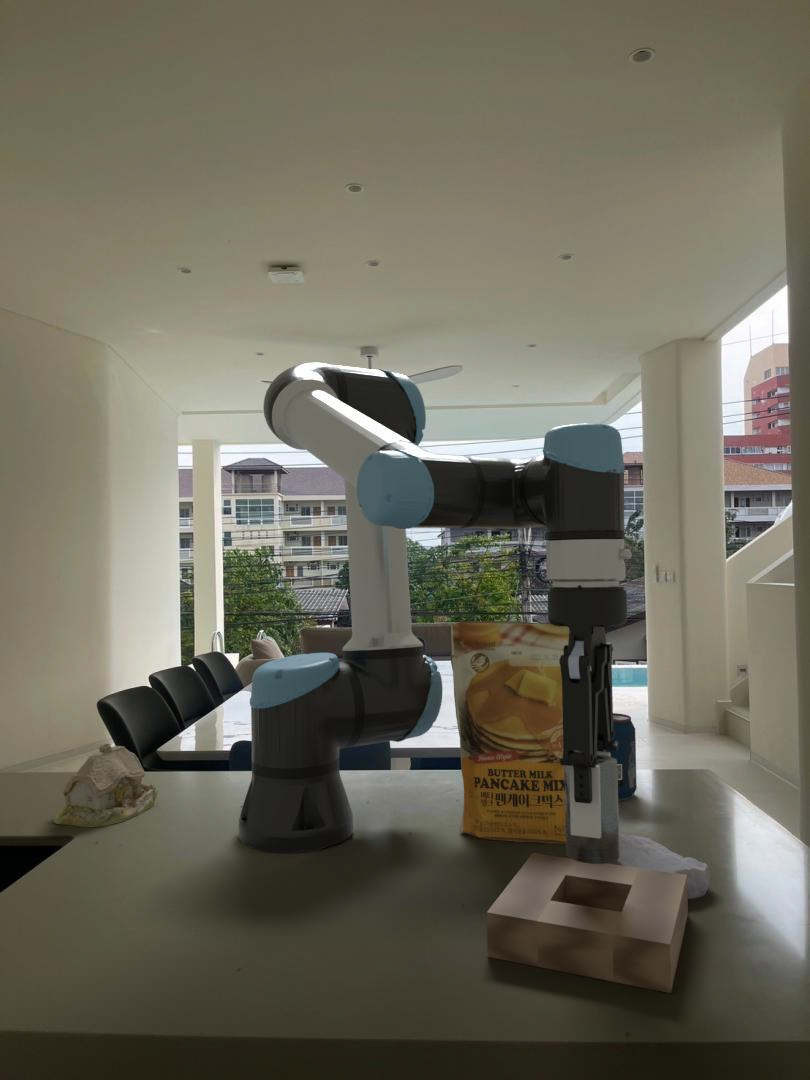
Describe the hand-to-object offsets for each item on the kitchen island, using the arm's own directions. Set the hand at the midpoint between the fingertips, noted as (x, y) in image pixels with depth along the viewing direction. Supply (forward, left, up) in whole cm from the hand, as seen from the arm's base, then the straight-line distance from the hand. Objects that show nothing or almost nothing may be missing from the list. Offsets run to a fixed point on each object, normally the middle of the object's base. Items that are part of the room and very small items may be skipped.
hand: (592, 825), depth 77 cm
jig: (0, 0, -10) cm, 10 cm away
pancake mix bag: (-14, +25, -11) cm, 31 cm away
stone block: (+4, +16, -11) cm, 20 cm away
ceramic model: (-73, +12, -11) cm, 75 cm away
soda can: (-6, +47, -11) cm, 49 cm away
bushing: (0, 0, -3) cm, 3 cm away
